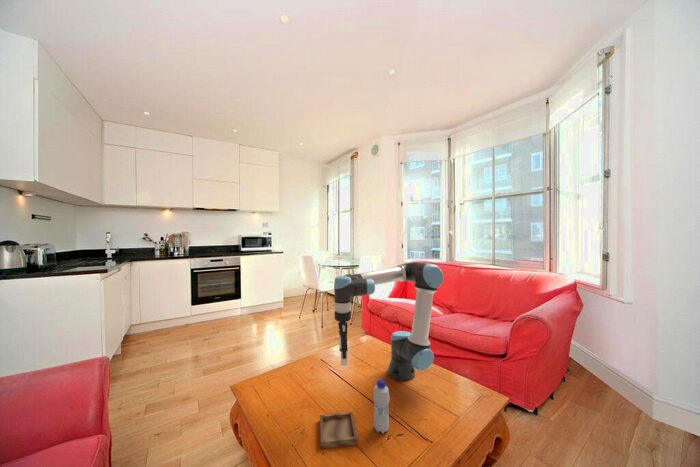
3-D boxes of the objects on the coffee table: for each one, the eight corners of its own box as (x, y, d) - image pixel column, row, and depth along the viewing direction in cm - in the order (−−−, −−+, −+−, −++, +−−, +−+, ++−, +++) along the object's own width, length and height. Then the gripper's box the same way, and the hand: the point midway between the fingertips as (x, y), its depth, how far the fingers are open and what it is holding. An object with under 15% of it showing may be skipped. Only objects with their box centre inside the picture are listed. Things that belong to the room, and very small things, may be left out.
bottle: (371, 423, 104) (371, 376, 104) (387, 422, 105) (387, 375, 105) (374, 436, 98) (374, 386, 98) (391, 435, 98) (391, 385, 98)
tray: (352, 417, 108) (352, 411, 108) (357, 444, 94) (357, 438, 94) (320, 420, 106) (320, 415, 106) (320, 448, 92) (320, 442, 92)
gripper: (333, 303, 124) (334, 345, 125) (335, 320, 100) (335, 373, 100) (348, 302, 125) (348, 344, 125) (353, 320, 100) (354, 371, 100)
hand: (343, 357), depth 112 cm, fingers open, 13 cm apart
